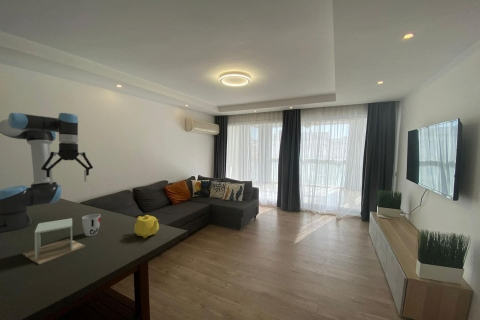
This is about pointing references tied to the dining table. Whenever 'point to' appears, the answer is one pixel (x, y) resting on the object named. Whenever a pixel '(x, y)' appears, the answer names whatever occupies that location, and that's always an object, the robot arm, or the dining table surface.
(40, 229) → the cover
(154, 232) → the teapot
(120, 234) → the dining table surface
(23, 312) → the dining table surface
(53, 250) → the mat
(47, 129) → the robot arm
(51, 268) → the dining table surface
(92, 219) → the cup
